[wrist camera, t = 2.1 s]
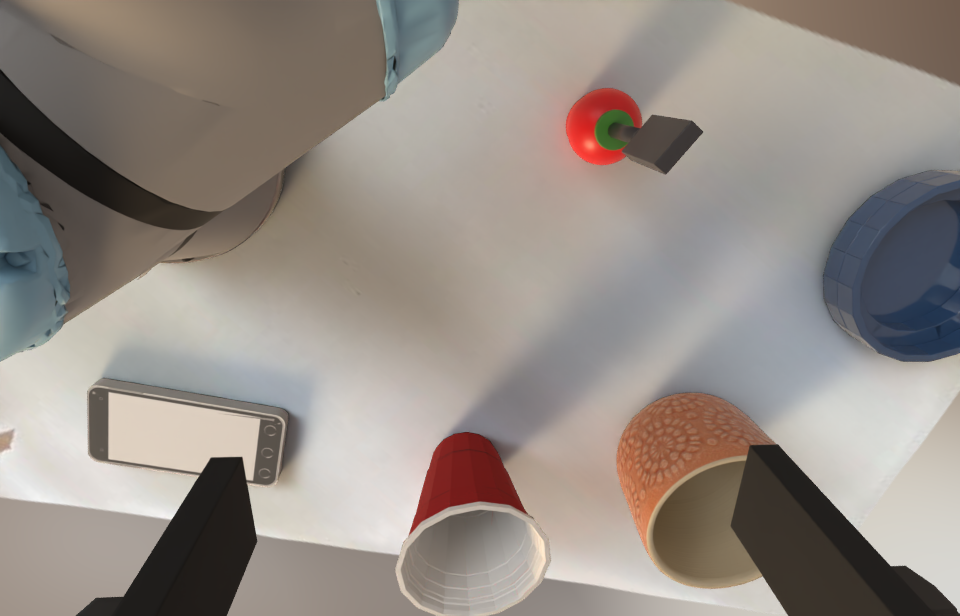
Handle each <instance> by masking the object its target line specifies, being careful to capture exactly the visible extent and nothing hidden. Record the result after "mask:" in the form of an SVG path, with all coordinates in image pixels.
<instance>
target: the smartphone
mask: <svg viewBox="0 0 960 616" xmlns="http://www.w3.org/2000/svg"><path fill="white" fill-rule="evenodd" d="M87 416H88V455H89V456H90V458H91V459H93V460H94V461H96V462H100V463H107V464H114V465H120V466H127V467H134V468H141V469H147V470H154V471H161V472H168V473H174V474H181V475H188V476H195V477H199V476H200V474H201V472H202V471H203V469H204V468H205V466H206V464H207V463H208V461H209V460H210V458H211V457H243V463H244V469H245V475H246V480H247V484H249V485H255V486H262V487H272V486H274V485H275V484H276V483H277V481H278V478H279V476H280V473H281V468H282V461H283V454H284V446H285V439H286V432H287V425H288V418H289V417H288V414H287V412H286V411H285V410H283V409H281V408H277V407H271V406H265V405H260V404H254V403H248V402H242V401H236V400H230V399H224V398H218V397H212V396H206V395H201V394H195V393H189V392H183V391H177V390H171V389H165V388H159V387H153V386H148V385H142V384H136V383H130V382H124V381H118V380H112V379H106V378H103V379H100V380H98V381H97V382H96V383H95V384H93V385H92V386H91V387H90V388H89V389H88V391H87Z"/></svg>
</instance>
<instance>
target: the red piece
mask: <svg viewBox="0 0 960 616" xmlns="http://www.w3.org/2000/svg"><path fill="white" fill-rule="evenodd" d="M566 132H567V136H568V139H569V142H570V145H571V147H572V149H573V150H574V151H575V153H576V154H577V155H578V156H579V157H580V158H582V159H583V160H585V161H587V162H589V163H592V164H596V165H608V164H612V163H615V162H618V161H620V160H622V159H623V158H625V157H626V156H627V157H628V158H629V159H630V160H632V161H634V162H636V163H639V164H641V165H644V166H646V167H648V168H651V169H653V170H656V171H658V172H661V173H663V174H667V173H668V172H669V171H670V169H671V168H672V167H673V166H674V165H675V164H676V163H677V161H678V160H679V159H680V158H681V157H682V156H683V155H684V153H685V152H686V151H687V150H688V149H689V148H690V147H691V145H692V144H693V143H694V142H695V141H696V140H697V139H698V137H699V136H700V135H701V134H702V133H703V131H702V130H701V129H700V128H699V127H698V126H697V125H696V124H695V123H694V122H693V121H690V120H684V119H677V118H671V117H664V116H658V115H651V117H650V118H649V119H648V120H647V121H646V123H645V124H644V125H643V126H642V117H641V113H640V110H639V108H638V106H637V104H636V103H635V101H634V100H633V99H632V98H631V97H630V96H629V95H627V94H626V93H624V92H622V91H620V90H617V89H613V88H602V89H597V90H594V91H592V92H590V93H588V94H586V95H585V96H583V97H582V98H581V99H580V100H579V101H577V102H576V103H575V104H574V106H573V107H572V108H571V110H570V112H569V114H568V117H567V121H566Z"/></svg>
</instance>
